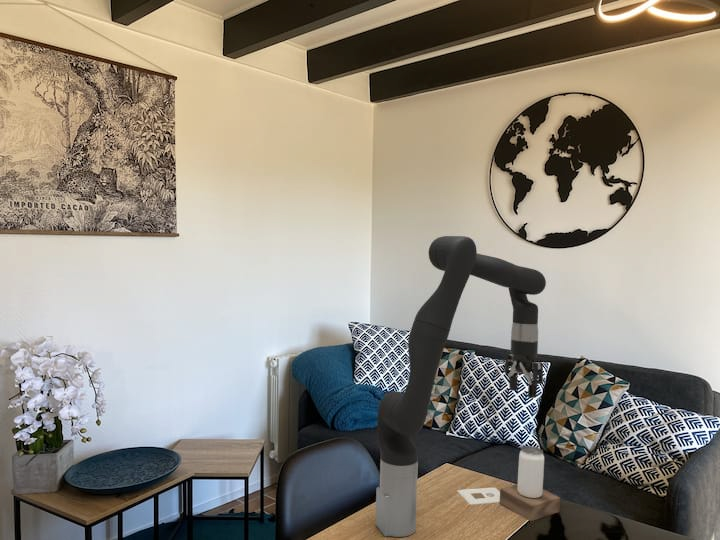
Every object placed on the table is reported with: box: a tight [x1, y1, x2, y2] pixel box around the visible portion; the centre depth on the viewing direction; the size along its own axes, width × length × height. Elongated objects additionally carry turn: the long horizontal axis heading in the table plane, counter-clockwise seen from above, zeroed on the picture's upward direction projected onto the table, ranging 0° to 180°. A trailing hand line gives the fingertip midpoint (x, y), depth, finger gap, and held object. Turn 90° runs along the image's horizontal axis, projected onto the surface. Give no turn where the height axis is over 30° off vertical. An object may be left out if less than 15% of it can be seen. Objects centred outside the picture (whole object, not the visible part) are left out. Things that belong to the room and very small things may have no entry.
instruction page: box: [456, 486, 500, 506], centre depth 154 cm, size 12×9×1 cm
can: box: [517, 445, 545, 499], centre depth 147 cm, size 6×6×12 cm
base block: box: [499, 483, 561, 522], centre depth 147 cm, size 11×11×4 cm
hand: (522, 393), depth 159 cm, fingers open, 8 cm apart
